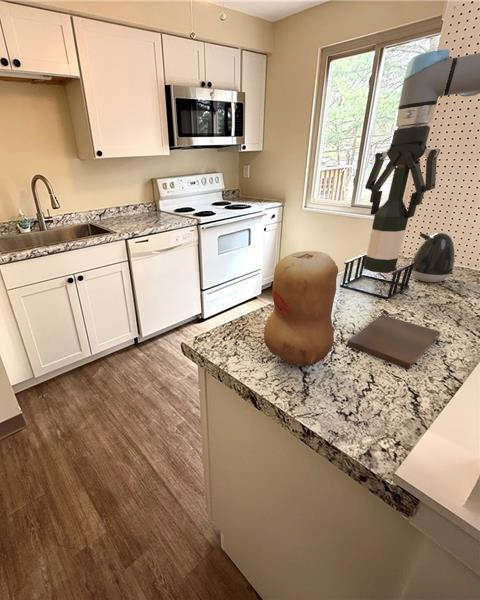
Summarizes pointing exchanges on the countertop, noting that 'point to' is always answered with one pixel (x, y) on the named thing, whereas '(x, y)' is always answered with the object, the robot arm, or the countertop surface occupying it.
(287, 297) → the butternut squash
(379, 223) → the wine bottle
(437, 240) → the pump dispenser
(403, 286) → the dish rack
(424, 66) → the robot arm
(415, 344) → the cutting board
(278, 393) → the countertop surface
